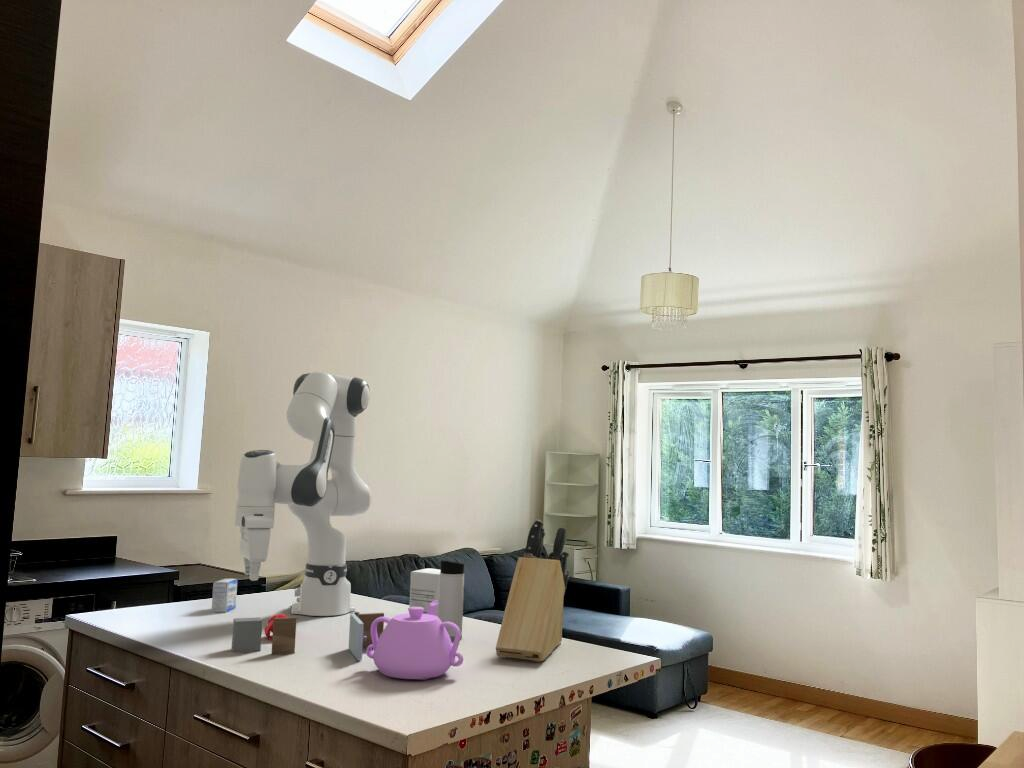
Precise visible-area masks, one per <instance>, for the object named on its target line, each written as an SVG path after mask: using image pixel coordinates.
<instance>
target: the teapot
mask: <svg viewBox="0 0 1024 768" xmlns="http://www.w3.org/2000/svg"><path fill="white" fill-rule="evenodd" d="M437 605H438V600H434V601H432V602H431V603H430V605H429V608H428V611H427V614H423V611H424V608H422V607H410V608H409V607H408V608H407V611H408V613H403V614H402V613H401V614H396V615H394V616H392V618H390V617H388V616H384V617H379V618H377V619H375V620H374V621H373V622H372V624H371V638H372V643H373V645H369V646H368V647H367V648H366V651H365V652H366V653H365V654H366V656H367V657H369V659H373V662H374V663H373V664H374V665H375V667H376V668H377V669H378V671H379V672H380V673H381V674H382V675H384V676H387V677H389V678H394V679H401V680H402V679H403V680H417V681H418V680H419V681H425V680H426V681H427V680H429V679H432V678H437V677H441V676H442V675H445V674H446V672H447V671H448V670H449V669H450V668H451V667H459V666H461V665H462V664H463V663H464V656H463V654H462V653H461V652H457V651H458V649H459V645H460V641H461V639H460V637H461V632H460V629H459V627H458V626H457V625H456V624H454V623H452V622H443V623H442V622H441V620H440V619H439V618H438V617H437V616H436V609H437ZM379 622H384V623H386V626H384V628H383V632H382V633H381V635H380V637H379V639H378V636H377V624H378V623H379ZM445 627H450V628H452V629H453V630H454V633H455V639H454V641H451V639H450V637H449V634H448V632H447V630H446V629H445ZM372 649H373V650H372ZM456 657H457V658H458V660H456Z"/></svg>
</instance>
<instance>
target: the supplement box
mask: <svg viewBox="0 0 1024 768" xmlns="http://www.w3.org/2000/svg"><path fill="white" fill-rule="evenodd" d="M440 572H441V568H440V569H439V568H438V569H437V568H432V567H431V568H430V567H429V568H428V567H427V568H421V569H416V570H413V571H410V580H409V581H410V584H409V585H410V586H409V588H410V589H409V606H408V608H410V607H422V608H424V611H423V614H427V611H428V608H429V605H430V603H431V602H432V601H434V600H438V605H437V609H436V616H437V617H438V615H439V591H440Z"/></svg>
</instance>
